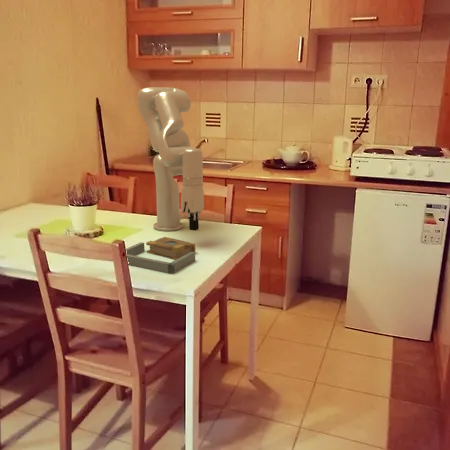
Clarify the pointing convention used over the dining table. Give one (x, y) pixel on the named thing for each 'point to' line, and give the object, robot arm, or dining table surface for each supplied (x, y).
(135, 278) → the dining table surface
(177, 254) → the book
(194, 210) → the robot arm
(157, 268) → the tray
